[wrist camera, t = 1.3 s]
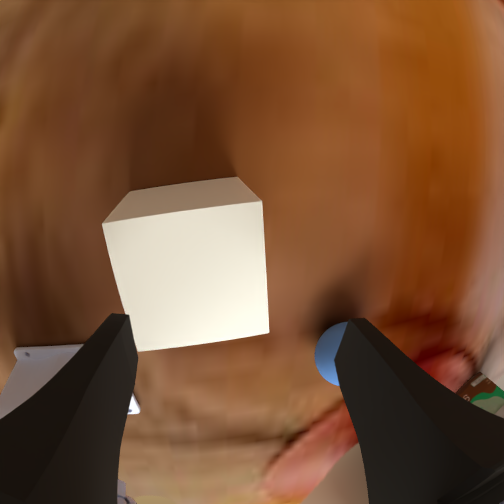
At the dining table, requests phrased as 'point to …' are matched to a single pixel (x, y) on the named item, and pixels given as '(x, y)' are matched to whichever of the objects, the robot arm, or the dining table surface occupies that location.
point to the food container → (483, 394)
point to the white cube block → (190, 263)
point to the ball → (329, 352)
